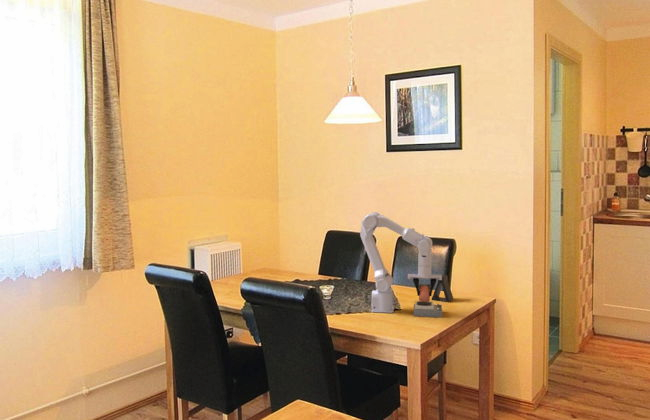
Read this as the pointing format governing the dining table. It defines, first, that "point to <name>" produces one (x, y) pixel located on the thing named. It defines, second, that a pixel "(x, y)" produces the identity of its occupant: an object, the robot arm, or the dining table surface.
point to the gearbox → (427, 309)
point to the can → (424, 292)
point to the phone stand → (445, 288)
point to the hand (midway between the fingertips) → (424, 295)
